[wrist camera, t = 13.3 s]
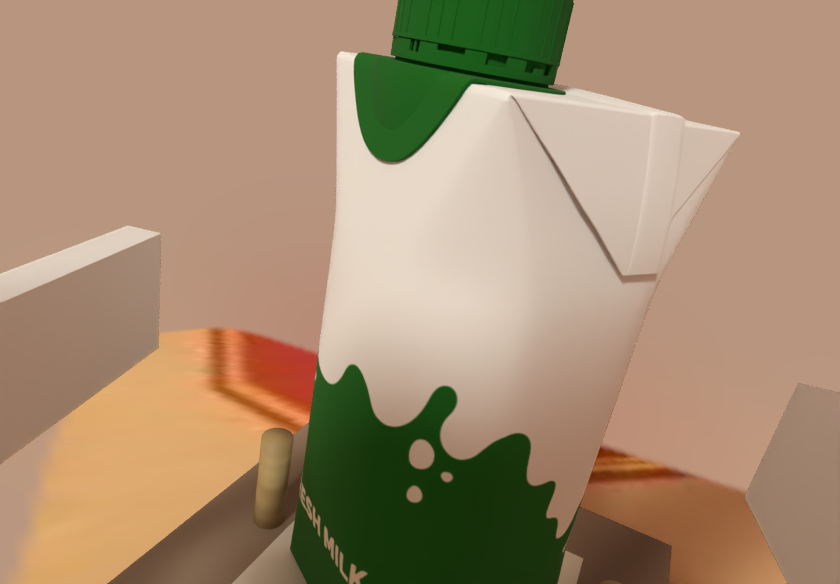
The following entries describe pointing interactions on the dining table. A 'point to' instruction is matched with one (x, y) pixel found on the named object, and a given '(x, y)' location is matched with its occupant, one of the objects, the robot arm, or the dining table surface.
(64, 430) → the dining table surface
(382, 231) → the soya milk
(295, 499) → the pin base plate
